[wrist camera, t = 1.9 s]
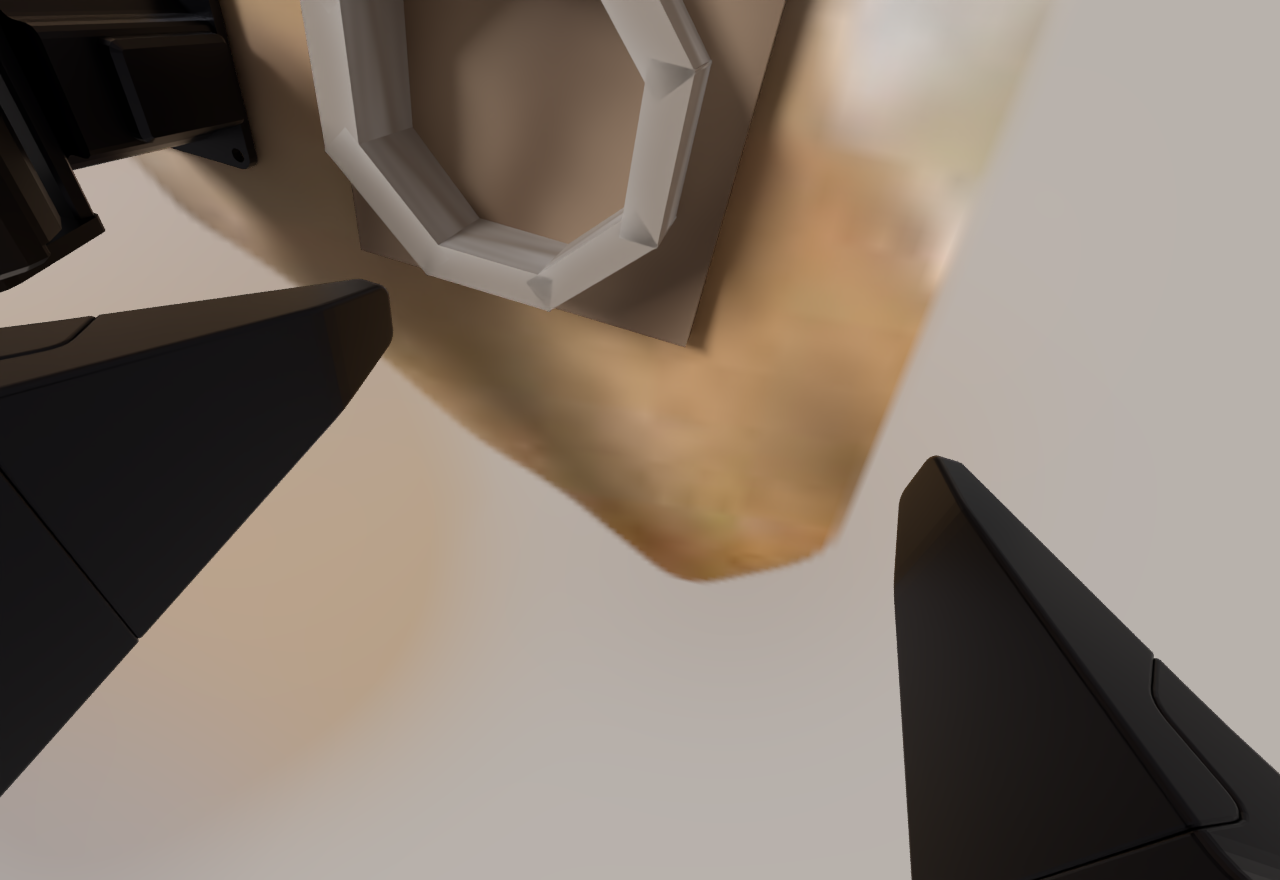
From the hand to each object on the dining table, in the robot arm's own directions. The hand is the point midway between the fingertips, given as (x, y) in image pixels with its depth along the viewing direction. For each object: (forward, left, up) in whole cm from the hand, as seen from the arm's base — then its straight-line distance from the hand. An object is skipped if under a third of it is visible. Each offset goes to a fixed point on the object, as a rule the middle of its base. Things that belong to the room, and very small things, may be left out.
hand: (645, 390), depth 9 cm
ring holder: (-7, +1, -13) cm, 15 cm away
